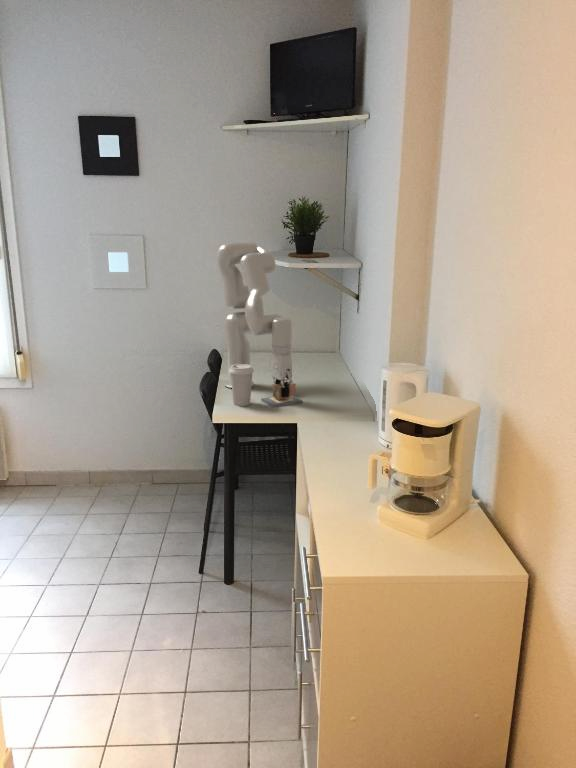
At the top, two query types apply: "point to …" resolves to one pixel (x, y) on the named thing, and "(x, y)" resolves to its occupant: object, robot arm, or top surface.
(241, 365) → the coffee cup
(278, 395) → the walnut block
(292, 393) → the terracotta block
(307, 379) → the top surface
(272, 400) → the board
